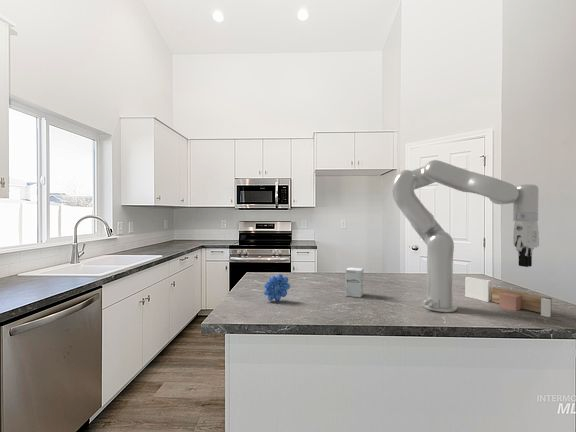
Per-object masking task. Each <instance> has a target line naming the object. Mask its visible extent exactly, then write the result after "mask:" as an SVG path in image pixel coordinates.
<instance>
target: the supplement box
mask: <svg viewBox="0 0 576 432" xmlns="http://www.w3.org/2000/svg"><path fill="white" fill-rule="evenodd" d="M344 295H345V297H354V298H358V299H361V298H362V296H363V295H364V268H363V267H361V268H360V267H347V268H346V269H345V294H344Z"/></svg>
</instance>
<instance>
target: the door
mask: <svg viewBox="0 0 576 432" xmlns="http://www.w3.org/2000/svg"><path fill="white" fill-rule="evenodd" d="M501 293H509V294H514V295H519V296H521V310H523V309H524V310H528V311H532V312H537V313H540V314H541V299H542V298H545V299H551V307H552V297H547V296H542V295H537V294H533V293H527V292H522V291H516V290H510V289H506V288H499V287H495V286H492V301H491V302H492V303H496V304H499V294H501Z"/></svg>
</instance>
